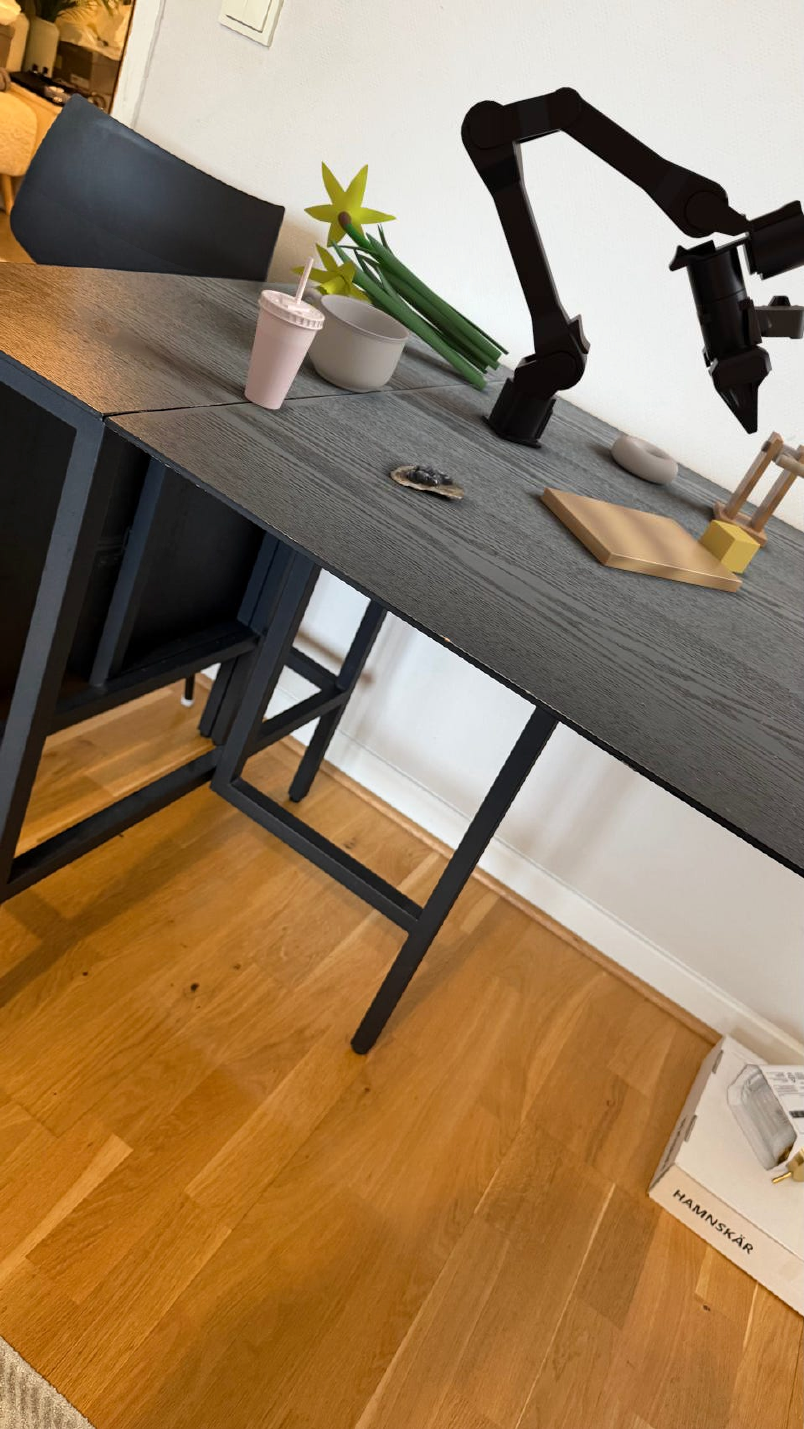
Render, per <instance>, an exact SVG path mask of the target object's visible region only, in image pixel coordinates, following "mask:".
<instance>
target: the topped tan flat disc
mask: <svg viewBox="0 0 804 1429" xmlns="http://www.w3.org/2000/svg"><path fill="white" fill-rule="evenodd" d="M390 477H391V478H392V479H393V480H394V481H396V483H398V484H401V485H403V486H407V487H408V486H410V487H411V488H413V489H415V490H416V489H417V490H419V491H421V490H422V491H425V490H427V491H432V492H435V493H437V494H440V495H444V496H446V497H447V498H448V499H449V498H450V499H451V500H455V501H461V500H462V499H463V498H464V494H465V493H466V490H465V488H464V487H461V486H462V485H460V484H459V482H456V481H454V478H453V476H451V475H449V474H446V473H445V472H443V471H442V470H440V469H436V467H435V466H434V465H428V466H426V464H417V465H405V466H404V465H401V466H397V467H396V469H395V468H394V470H393V471H390Z"/></svg>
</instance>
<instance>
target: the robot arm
mask: <svg viewBox="0 0 804 1429" xmlns="http://www.w3.org/2000/svg"><path fill="white" fill-rule="evenodd" d="M560 132H562V133H565V134H566V135H567V136H569V137H570V138H571V139H573V140H574V141H576V142H577V143H578V144H580V146H582V147H584V148H585V149H587V150H588V151H590V152H591V153H592V154H593V155H595V156H596V157H598V158H599V159H600V160H602V161H603V162H604V163H606V164H607V165H608V166H610V167H611V168H612V169H614V170H615V171H617V172H618V173H620V174H621V175H622V176H624V177H625V178H626V179H627V180H629V181H631V182H632V183H633V184H634V185H636V186H637V187H639V189H641V190H642V191H643V192H645V194H646V195H647V196H648V197H649V198H650V199H651V200H652V202H654V203H655V205H656V206H657V207H658V208H659V209H660V210H661V211H662V212H663V213H664V214H665V216H667V218H668V219H669V220H670V221H671V222H672V223H673V224H674V225H675V227H676V228H677V229H678V230H679V231H681V233H683V235H684V236H687V237H689V238H691V239H697V240H698V239H704V238H707V237H710V236H711V235H713V234H714V233H718V234H722V235H725V236H730V237H737V236H740V235H742V234H745V235H744V236H743V237H739V238H738V239H734V240H732V241H730V242H727V243H724V244H721V245H718V246H716V244H715V241H714V240H713V239H709V240H707V241H704V242H702V243H699V244H697V245H694V246H692V247H689V248H686V247H684V246H683V245H681V244H677V245H676V248H675V252H674V254H673V257H672V259H671V261H670V262H669V264H668V266H667V267H668V269H669V271H670V272H672V273H673V272H676V271H678V270H681V269H683V268H686V273H687V277H688V281H689V285H690V290H691V294H692V298H693V302H694V307H695V311H696V312H695V313H696V318H697V321H698V323H699V327H700V332H701V336H702V340H703V345H704V346H703V347H702V349H701V353H702V357H703V361H704V365H705V368H706V369H707V368H709V369H708V370H707V371H708V372H707V373H708V375H709V377H710V378H711V380H712V381H711V382H712V386H713V387H714V390H715V391H716V393H717V394H718V395H719V397H720V398H721V400H722V401H723V402H724V403H725V405H726V406H727V408H728V409H729V410H730V412H731V413H732V414H733V416H734V417H735V418H736V420H737V422H739V424H740V425H741V427H742V428H743V430H744V431H745V432H746V434H747V435H753V434H755V433H757V432H758V431H759V426H758V425H759V388H760V386H761V385H762V383H763V382H764V380H765V379H766V378H767V377H768V376H769V375H770V372H771V371H773V367H772V362H771V357H770V354H769V352H768V351H767V349H765V348H764V347H762V346H760V344H764V342H763V338H789V339H790V340H802V339H803V338H804V305H799V304H793V305H792V304H791V301H790V298H789V296H787V295H782V294H781V295H773V296H772V298H771V299H770V301H769V302H768V304H767V305H766V304H762V305H759V306H758V305H755V303H754V300H753V298H751V296H750V295H749V296H748V292H747V287H746V282H745V278H744V274H743V268H742V263H741V260H740V255H739V251H738V250H739V249H738V247H740V246H741V247H742V252H743V256H744V261H745V265H746V269H747V272H748V275H749V276H754V275H755V274H756V275H757V276H759V278H760V281H761V282H764V281H766V280H769V279H771V278H775V277H777V276H780V275H782V274H784V273H785V274H786V273H787V272H791V271H794V270H796V269H798V268H801V267H803V266H804V211H803V207H802V202H801V201H800V200H799V199H795V200H792V201H789V202H786V203H784V204H783V205H782V206H780V207H779V208H777V209H774V210H772V211H770V212H767V213H764V214H761V215H760V216H757V217H754V218H750V219H747V214H746V213H742V212H741V213H740V212H738V211H737V210H736V209H735V208H734V207H731V206H730V202H729V195H728V193H727V191H726V189H725V188H724V187H723V185H721V184H720V183H719V182H717V181H715V180H713V179H710V178H708V177H706V176H704V175H702V174H700V173H697V172H695V171H693V170H691V169H688V168H686V167H683V166H682V165H679V164H677V163H675V162H672V161H671V160H668V159H666V158H664V157H663V156H661V155H660V154H658V153H657V152H656V151H654V150H653V149H652V148H650V147H649V146H648V145H646V144H645V143H644V142H642V141H641V140H639V139H638V138H637V137H635V136H634V135H633V134H631V133H630V132H629V131H627V130H626V129H624V128H623V127H622V126H621V125H619V124H618V123H617V122H615V121H614V120H613V119H611V118H610V117H608V116H607V115H606V114H605V113H603V112H602V111H600V110H599V109H598V108H596V107H595V106H593V105H592V104H591V103H590V102H588V101H586V100H585V99H584V98H583V97H582V96H581V94H580V93H579V91H577V90H576V89H574V88H573V87H570V86H562V87H560V88H557V89H556V90H554V91H552V92H548V93H546V94H541V95H536V96H533V97H529V98H525V99H521V100H520V99H519V100H516V101H512V102H510V103H506V104H504V105H503V104H502V103H500V102H497V101H495V100H489V99H485V100H481V101H478V102H476V103H475V104H474V105H472V106H471V107H470V108H469V110H467V112H466V113H465V115H464V118H463V120H462V123H461V126H460V137H461V142H462V145H463V147H464V149H465V151H466V153H467V155H468V157H469V159H470V161H471V163H472V165H473V167H474V168H475V170H476V172H477V174H478V176H479V177H480V179H481V181H482V182H483V184H484V186H485V188H486V189H487V191H488V193H489V194H490V196H491V198H492V200H493V204H494V207H495V209H496V212H497V216H498V219H499V222H500V225H501V228H502V231H503V234H504V238H505V240H506V243H507V247H508V250H509V253H510V257H511V259H512V263H513V266H514V268H515V272H516V275H517V278H518V281H519V284H520V287H521V290H522V293H523V297H524V299H525V303H526V306H527V309H528V313H529V315H530V321H531V328H532V330H531V331H532V340H533V349H534V350H533V351H534V353H531V354H529V355H526V356H524V357H522V358H521V359H520V360H519V362H518V363H517V365H516V367H515V368H514V371H513V377H509V376H507V377H506V380H505V382H504V384H503V386H502V388H501V390H500V393H499V394H498V397H497V398H496V402H495V404H494V405H493V408H492V410H491V412H490V414H487V413H482V415H481V418H482V419H483V420H484V421H485V422H486V424H488V426H490V427H491V428H492V429H493V430H494V432H496V434H497V435H499V436H500V437H501V438H502V439H505V440H508V441H512V442H515V443H518V444H523V445H525V446H529V447H532V448H533V447H534V448H537V449H542V448H543V444H542V443H541V442H540V441H539V440H540V439H541V437H542V435H543V433H544V432H545V430H546V428H547V425H548V423H549V421H550V420H551V417H552V416H553V414H554V409H553V408H554V407H555V405H556V403H557V401H558V399H557V398H556V397H555V395H556V394H557V393H558V392H559V391H561V392H563V391H567V390H568V391H569V390H570V389H573V387H575V386H576V385H577V384H579V382H580V381H581V380H582V379H583V376H584V374H585V371H586V366H587V363H588V355H589V352H590V349H591V343H590V341H589V340H588V339H587V337H586V335H585V332H584V326H583V318H582V314H581V313H579V314H577V315H575V316H574V317H572V318H570V316H569V314H568V312H567V311H566V309H565V307H564V305H563V304H562V301H561V297H560V295H559V292H558V287H557V284H556V281H555V278H554V275H553V272H552V269H551V266H550V262H549V259H548V256H547V253H546V249H545V246H544V243H543V240H542V236H541V233H540V230H539V226H538V223H537V220H536V217H535V213H534V210H533V207H532V205H531V204H532V203H531V201H530V197H529V194H528V191H527V188H526V182H525V174H524V162H523V153H522V152H523V151H522V146H521V145H523V144H526V143H529V142H531V141H536V140H539V139H541V138H545V137H548V136H551V135H553V134H557V133H560Z"/></svg>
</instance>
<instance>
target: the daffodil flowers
mask: <svg viewBox="0 0 804 1429" xmlns="http://www.w3.org/2000/svg"><path fill="white" fill-rule="evenodd" d="M368 170H369V165H368V164H367V163H366V164H365V165H363V167H361V168H360V170H359V171H358V172H357V174H356V175H355V176H354V178H353V179H352V180H351V181H350V183H349V185H348V186H347V188H346V190H345V189H344V188H343V187H342V185H341V183H340V182H339V181H338V179H337V178H336V177H335V175H334V174H333V172H332V171H331V170H330V168H329V167H328V166H327V165H326V163H325V162H324V161H321V177H322V180H323V185H324V188H325V191H326V193H327V196H328V197H329V199H330V202H331V203H328V204H326V203H325V204H319V205H314V206H309V207H306V208H303V211H304V212H305V213H307V215H309V216H310V217H311V218H313V219H315V220H317V221H319V222H322V223H329V224H330V226H329V229H328V235H327V240H326V248H327V249H330V248H334V251H335V253H336V255H337V256H338V257H339V259H340V260H341V261H342V264H340V265H338V263H337V262H336V260H335V258H334V256H333V255H332V254H331V253H330V251H328V250H327V249H326V248H324V247H323V246H321V245H320V244H318V243H317V242H315V243H314V244H315V248H316V251H317V253H318V256H319V257H320V260H321V262H322V264H323V267H324V269H325V270H323V269H319V268H316V267H311V270H310V273H309V276H308V279H309V280H311V281H313V282H316V283H318V284H320V285H317V286H315V288H314V289H316V290H317V291H319V292H320V293H321V295H322V296H323V295H329V294H331V295H340V296H345V297H349V298H350V297H351V298H353V299H356V300H359V301H362V302H367V304H369V305H370V306H372V307H374V308H376V309H379V310H381V311H382V312H384V313H386V314H388V315H389V316H391V317H392V318H394V319H395V320H397V321H398V322H399V323H401V324H402V325H403V326H404V327H405V328H406V329H407V330H409V331H411V332H412V333H413V334H415V336H417V337H418V338H419V339H420V340H422V341H423V342H424V343H425V344H426V345H427V346H429V347H430V348H431V349H432V350H433V351H435V352H436V353H437V354H438V355H439V356H440V357H442V358H443V359H444V360H445V361H446V362H447V363H449V364H450V365H451V366H452V367H453V368H455V370H457V371H458V372H459V373H460V374H461V375H462V376H463V377H464V378H466V379H467V380H468V381H469V382H470V383H472V384H473V385H474V386H475V387H476V388H478V389H479V391H480V392H483V390H484V389H485V387H486V386H487V384H488V382H487V381H486V380H484V376H483V375H487V374H488V372H489V371H488V370H487V368H488V367H490V368H491V369H492V370H494V372H495V371H497V370H498V368H499V367H500V365H501V363H500V362H499V359H500V358H501V356H502V355H503V354H504V355H505V356H507V355H509V354H510V351H508V350H507V349H506V348H505V347H504V346H502V345H501V344H500V343H499V342H498V341H496V340H495V339H494V338H492V337H491V336H490V335H489V334H488V333H486V332H485V331H484V330H483V329H481V328H480V327H479V325H477V324H475V323H474V322H473V321H471V320H470V319H469V318H467V317H466V316H465V315H464V314H462V312H460V311H459V310H458V309H456V308H455V307H454V306H452V305H451V304H449V303H448V302H447V301H446V300H445V299H443V298H442V297H440V296H439V295H438V294H437V293H436V292H434V291H433V290H432V289H431V288H430V287H429V286H427V284H425V282H423V281H422V280H421V279H420V278H419V277H418V276H417V275H416V274H415V273H414V272H412V271H411V270H410V269H409V268H408V267H407V266H406V265H405V264H404V263H403V262H402V261H401V260H399V259H398V258H397V257H396V255H395V254H394V252H393V251H392V249H391V248H390V246H389V244H388V242H387V240H386V236H385V233H384V232H385V231H384V229H383V226H382V223H386V222H391V221H396V220H397V217H396V216H394V215H393V214H387V213H384V212H381V211H379V210H375V209H371V208H368V207H366V206H365V207H363V206H362V204H363V201H364V197H365V191H366V186H367V180H368ZM371 224H376V225H377V229H378V230H377V231H378V233H379V234H378V235H379V238H380V241H381V242H380V241H379V240H377V239H376V238H375V237H374V236H372V235H371V234H370V233H368V232H364V229H363V226H362V225H371ZM379 224H380V225H379ZM346 235H347V237H349V238H350V239H351V241H353V243H355V244H356V246H354V245H346V244H342V245H341V244H340V245H339V243H341V241H342V240H343V239H344V238H345V237H346ZM366 237H367V238H366ZM343 249H349V250H352V251H353V253H354V256H355V258H356V261H357V262H358V264H357V263H355V262H354V260H352V258H351V257H350V256H349V255H348V254H347V252H345V251H344V250H343ZM358 251H359V252H363V253H364V254H366V255H369V256H370V257H371V258H370V257H368V256H366V255H364V254H361V253H359V252H358ZM369 266H370V267H371V268H373V270H374V271H375V273H376V274H377V276H378V277H379V278H378V277H377V276H376V275H375V273H374V272H373V270H371V268H370V267H369ZM289 269H290V271H292V272H293V273H295V274H297V275H299V276H300V277H302V275H303V272H304V269H305V266H302V265H301V266H296V267H291V268H289ZM308 279H307V280H308ZM311 306H313V307H314V308H316V306H315V302H314V300H313V301H312V305H311ZM410 306H411V307H410ZM412 308H413V309H412ZM418 313H419V314H420V315H419V314H418ZM479 371H480V372H481V373H482V374H483V375H482V374H481V373H480V372H479Z"/></svg>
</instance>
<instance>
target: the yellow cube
mask: <svg viewBox="0 0 804 1429" xmlns="http://www.w3.org/2000/svg"><path fill="white" fill-rule="evenodd" d="M698 542H699V543H700V544H701V545H702V546H703V547H704V548H706V549H707V550H708V551H709V552H710V553H711V554H712V555H713V556H714V557H716V558H717V559H718V560H719V561H720V562H721V563H722V564H723V565H724V566H726V567H727V568H728V569H729V570H730V571H731V572H732V573H736V574H743V572H744V571H745V569H746V567H748V565H749V564H750V562H751V560H752V559H753V558H754V556H755V555H756V553H757V552H758V550H759V549H760V548H761V547H760V544H759V543H757V542H756V541H755V540H754V539H753V538H751V537H750V536H749V535H748V534H747V533H745V532H744V531H743V530H742V529H741V528H739V527H738V526H736V525H732V524H728V523H724V522H720V521H717V520H715V519H711V521H710V523H709V525H708V526H707V528H705V531H704V532H703V534H702V536H701V537H700V539H699V540H698Z"/></svg>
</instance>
